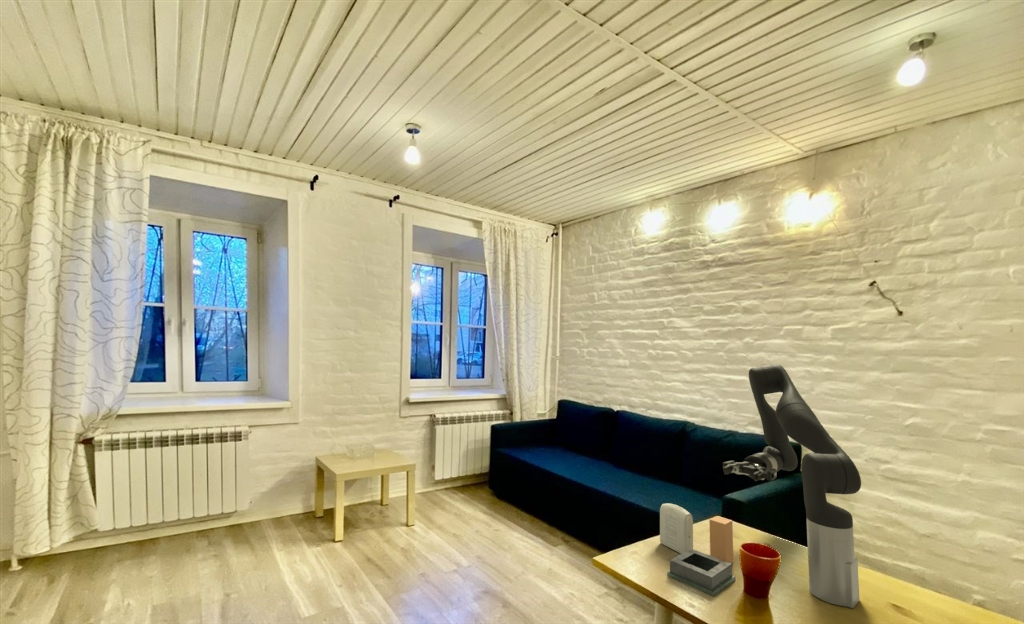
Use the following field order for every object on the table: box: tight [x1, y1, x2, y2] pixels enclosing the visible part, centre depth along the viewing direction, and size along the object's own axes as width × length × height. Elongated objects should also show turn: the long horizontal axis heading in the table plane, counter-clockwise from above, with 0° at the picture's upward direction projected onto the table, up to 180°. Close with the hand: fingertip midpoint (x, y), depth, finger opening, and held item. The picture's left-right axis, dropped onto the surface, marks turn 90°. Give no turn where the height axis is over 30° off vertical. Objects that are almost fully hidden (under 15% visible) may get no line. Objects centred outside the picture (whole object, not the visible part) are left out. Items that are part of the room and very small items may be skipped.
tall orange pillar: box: [709, 515, 734, 564], centre depth 122 cm, size 4×4×11 cm
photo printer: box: [659, 502, 694, 554], centre depth 130 cm, size 10×4×12 cm, turn 28°
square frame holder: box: [666, 548, 736, 597], centre depth 112 cm, size 12×12×4 cm
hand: (739, 474), depth 132 cm, fingers open, 8 cm apart
